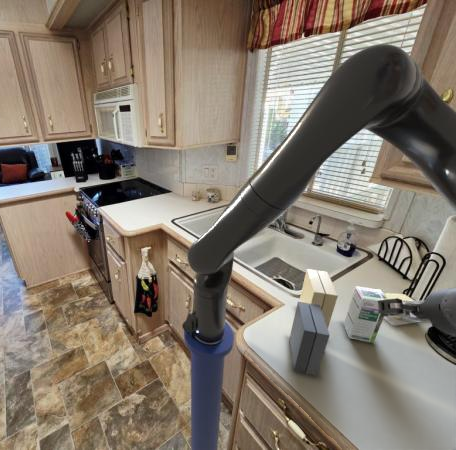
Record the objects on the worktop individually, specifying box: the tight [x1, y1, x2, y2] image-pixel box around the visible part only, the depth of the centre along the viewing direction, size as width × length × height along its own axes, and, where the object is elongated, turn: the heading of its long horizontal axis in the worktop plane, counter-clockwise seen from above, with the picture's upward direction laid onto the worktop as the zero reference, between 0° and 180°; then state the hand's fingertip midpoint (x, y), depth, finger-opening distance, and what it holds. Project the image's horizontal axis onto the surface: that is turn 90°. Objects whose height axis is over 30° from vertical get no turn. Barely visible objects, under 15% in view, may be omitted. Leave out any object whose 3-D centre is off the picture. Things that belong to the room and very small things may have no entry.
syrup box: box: [343, 285, 387, 344], centre depth 69 cm, size 6×6×14 cm
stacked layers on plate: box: [383, 292, 421, 327], centre depth 77 cm, size 10×9×6 cm
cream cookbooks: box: [298, 268, 339, 330], centre depth 73 cm, size 5×11×16 cm, turn 160°
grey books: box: [288, 301, 330, 377], centre depth 63 cm, size 5×10×14 cm, turn 160°
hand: (407, 315), depth 51 cm, fingers open, 8 cm apart
